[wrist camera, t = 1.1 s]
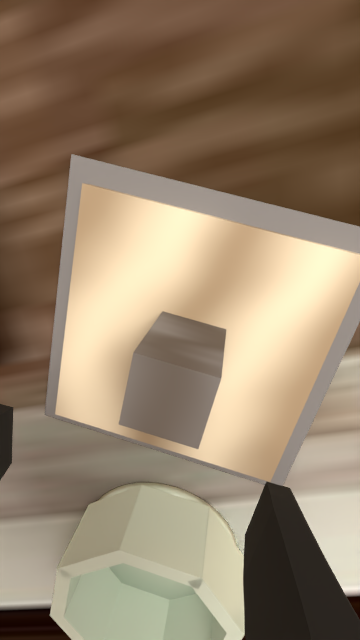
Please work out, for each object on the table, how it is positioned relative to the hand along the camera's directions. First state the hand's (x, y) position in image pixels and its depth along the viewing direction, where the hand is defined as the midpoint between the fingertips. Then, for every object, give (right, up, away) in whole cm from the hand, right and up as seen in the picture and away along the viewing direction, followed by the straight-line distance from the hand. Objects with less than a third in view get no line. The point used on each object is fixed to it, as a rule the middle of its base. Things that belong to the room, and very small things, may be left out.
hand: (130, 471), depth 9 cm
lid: (+2, +3, +7) cm, 8 cm away
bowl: (0, -11, +13) cm, 17 cm away
